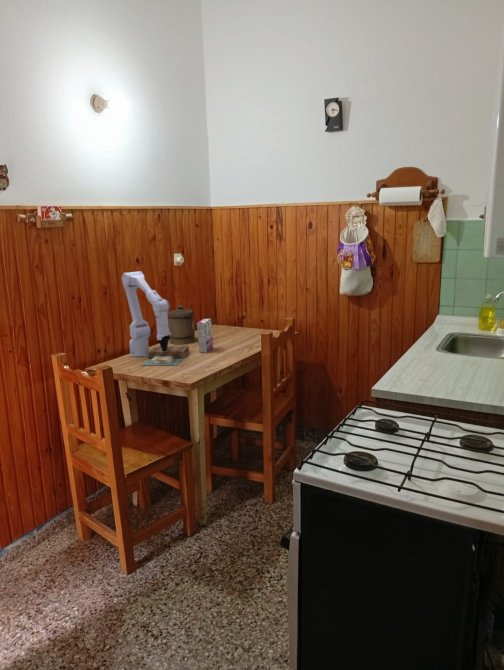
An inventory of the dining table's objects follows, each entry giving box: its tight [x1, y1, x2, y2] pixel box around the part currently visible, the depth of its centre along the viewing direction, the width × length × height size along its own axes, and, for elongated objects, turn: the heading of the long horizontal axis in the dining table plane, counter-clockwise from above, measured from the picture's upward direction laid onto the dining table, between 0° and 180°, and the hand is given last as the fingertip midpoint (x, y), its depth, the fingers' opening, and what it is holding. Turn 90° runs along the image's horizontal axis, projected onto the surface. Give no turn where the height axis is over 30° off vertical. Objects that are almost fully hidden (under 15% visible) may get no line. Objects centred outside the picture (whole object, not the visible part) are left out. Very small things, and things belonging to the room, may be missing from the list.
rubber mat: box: [141, 358, 184, 367], centre depth 239 cm, size 18×11×1 cm, turn 83°
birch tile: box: [152, 356, 173, 364], centre depth 239 cm, size 9×6×2 cm, turn 83°
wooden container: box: [167, 304, 196, 345], centre depth 282 cm, size 15×15×22 cm
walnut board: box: [148, 345, 190, 360], centre depth 250 cm, size 18×12×4 cm, turn 83°
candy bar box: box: [196, 318, 214, 354], centre depth 259 cm, size 11×5×16 cm, turn 168°
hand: (164, 350), depth 243 cm, fingers closed
